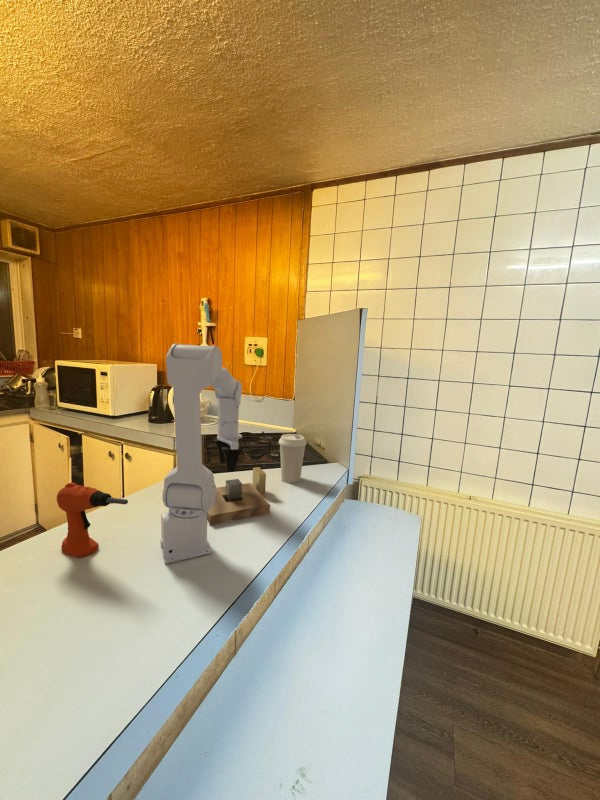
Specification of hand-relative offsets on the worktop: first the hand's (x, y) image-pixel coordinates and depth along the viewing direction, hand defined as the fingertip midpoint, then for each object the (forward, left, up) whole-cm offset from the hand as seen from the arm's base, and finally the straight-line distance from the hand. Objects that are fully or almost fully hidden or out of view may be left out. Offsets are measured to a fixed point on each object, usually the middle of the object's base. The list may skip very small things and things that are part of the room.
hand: (227, 466), depth 97 cm
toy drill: (-32, -17, -10) cm, 37 cm away
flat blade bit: (+10, 0, -10) cm, 14 cm away
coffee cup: (+24, +6, -10) cm, 27 cm away
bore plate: (0, -6, -9) cm, 11 cm away
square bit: (0, -6, -9) cm, 11 cm away
